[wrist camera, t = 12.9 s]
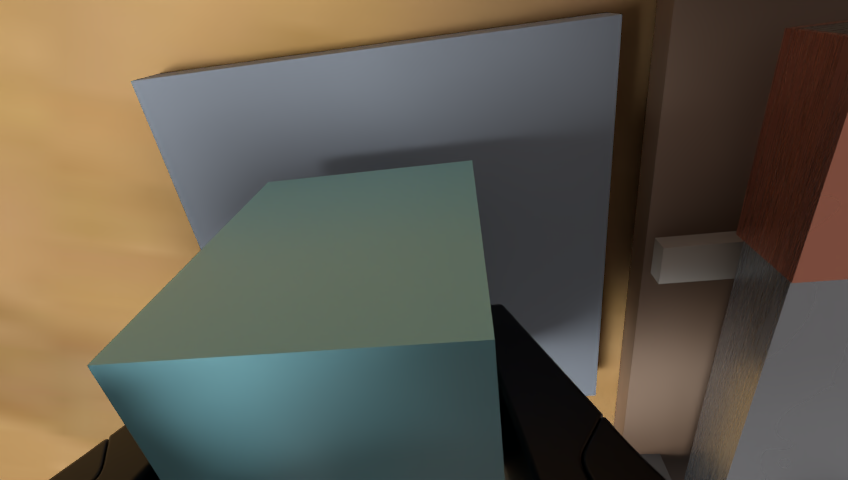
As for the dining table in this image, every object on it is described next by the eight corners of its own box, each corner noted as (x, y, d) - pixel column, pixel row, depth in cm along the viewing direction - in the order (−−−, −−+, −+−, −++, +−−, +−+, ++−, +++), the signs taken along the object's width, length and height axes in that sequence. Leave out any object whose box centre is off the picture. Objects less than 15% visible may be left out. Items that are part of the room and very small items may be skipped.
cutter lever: (773, 514, 14) (812, 579, 13) (668, 516, 15) (694, 579, 13) (998, 0, 7) (1149, 6, 6) (784, 28, 8) (871, 39, 6)
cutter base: (781, 483, 16) (886, 638, 12) (607, 488, 17) (654, 636, 13) (999, -72, 8) (1476, -130, 4) (659, -23, 9) (816, -36, 5)
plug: (497, 468, 13) (522, 719, 8) (358, 472, 13) (311, 714, 9) (472, 160, 8) (494, 339, 4) (268, 181, 9) (87, 365, 4)
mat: (586, 370, 14) (595, 395, 13) (278, 386, 15) (268, 411, 14) (606, 12, 9) (622, 14, 8) (158, 73, 10) (130, 80, 10)
